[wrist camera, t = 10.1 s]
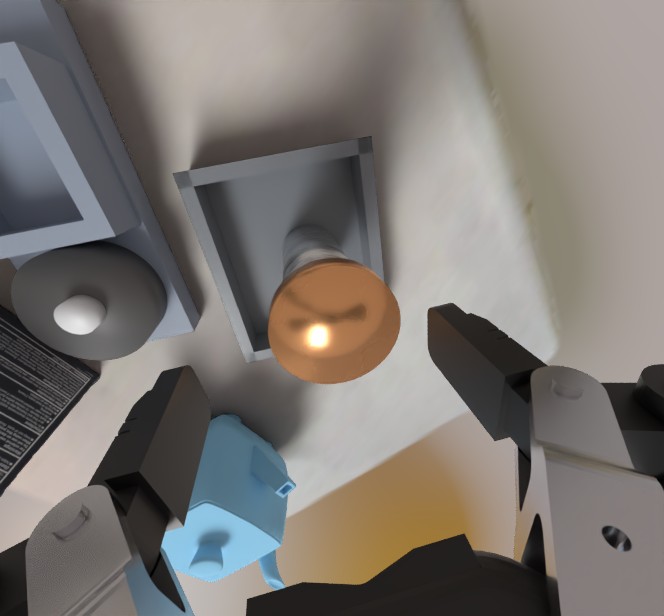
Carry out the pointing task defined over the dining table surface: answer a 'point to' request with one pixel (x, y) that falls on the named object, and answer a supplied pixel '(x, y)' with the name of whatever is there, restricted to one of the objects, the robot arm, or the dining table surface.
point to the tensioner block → (76, 202)
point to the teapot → (233, 507)
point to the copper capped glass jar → (329, 311)
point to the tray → (279, 222)
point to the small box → (33, 393)
